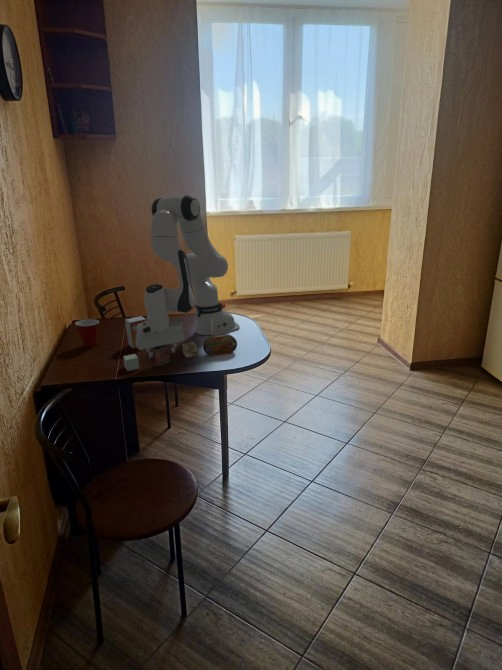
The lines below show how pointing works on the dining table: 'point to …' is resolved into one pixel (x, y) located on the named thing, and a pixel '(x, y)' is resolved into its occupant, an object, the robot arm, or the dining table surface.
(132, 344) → the small box
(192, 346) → the cream rounded lump
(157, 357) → the lighter
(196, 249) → the robot arm
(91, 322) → the plastic cup
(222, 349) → the tin
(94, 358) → the dining table surface
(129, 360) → the sage block
